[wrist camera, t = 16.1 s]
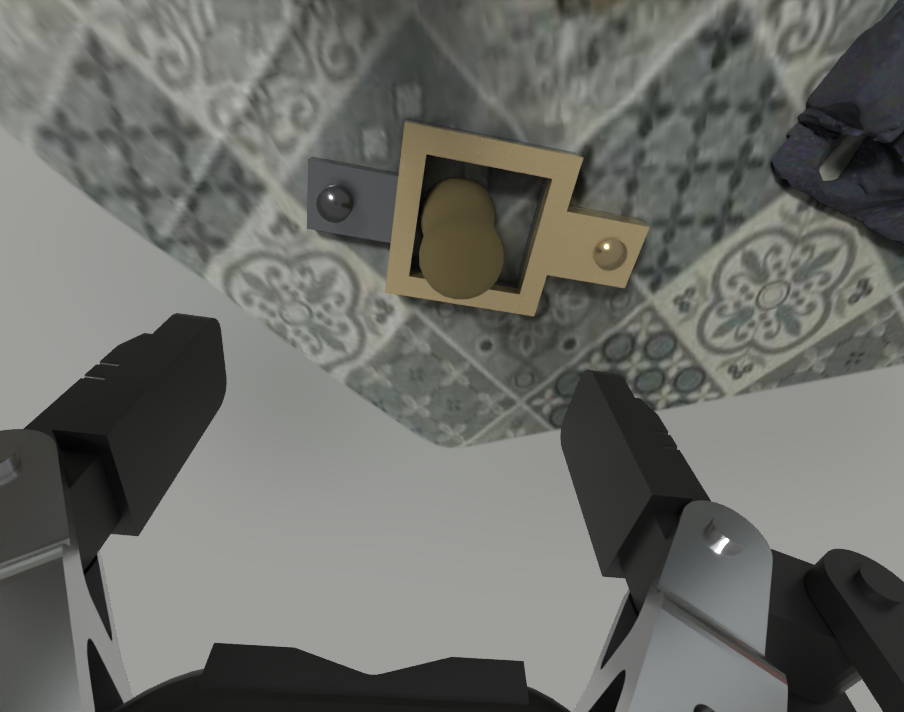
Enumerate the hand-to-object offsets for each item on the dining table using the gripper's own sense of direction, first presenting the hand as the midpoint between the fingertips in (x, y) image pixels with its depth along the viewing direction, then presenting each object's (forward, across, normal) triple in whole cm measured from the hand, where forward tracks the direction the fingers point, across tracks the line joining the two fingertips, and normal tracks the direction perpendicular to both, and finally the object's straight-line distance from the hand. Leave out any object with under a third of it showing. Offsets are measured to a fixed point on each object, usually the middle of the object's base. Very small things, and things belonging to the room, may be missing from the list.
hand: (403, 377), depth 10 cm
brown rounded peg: (+28, -3, +4) cm, 28 cm away
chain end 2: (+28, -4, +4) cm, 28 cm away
